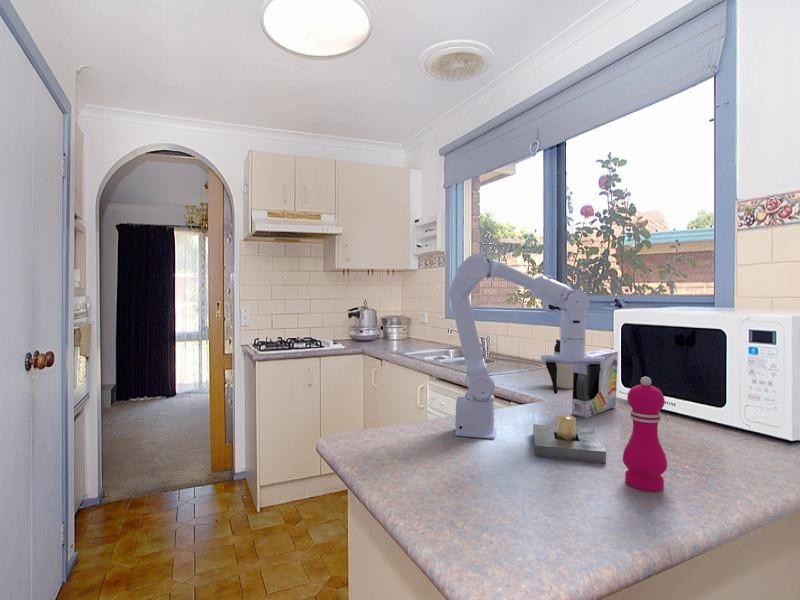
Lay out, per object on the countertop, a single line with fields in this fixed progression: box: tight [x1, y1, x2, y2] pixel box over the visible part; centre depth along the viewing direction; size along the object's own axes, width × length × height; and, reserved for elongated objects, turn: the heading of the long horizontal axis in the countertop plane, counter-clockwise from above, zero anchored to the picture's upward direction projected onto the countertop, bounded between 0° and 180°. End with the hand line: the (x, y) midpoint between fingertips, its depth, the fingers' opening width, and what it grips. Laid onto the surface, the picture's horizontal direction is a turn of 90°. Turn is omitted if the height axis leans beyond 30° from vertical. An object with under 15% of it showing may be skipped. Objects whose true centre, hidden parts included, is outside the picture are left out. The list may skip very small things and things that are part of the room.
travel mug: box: [553, 337, 573, 390], centre depth 168 cm, size 8×8×18 cm
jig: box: [532, 423, 607, 465], centre depth 103 cm, size 14×16×2 cm
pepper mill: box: [622, 376, 668, 492], centre depth 84 cm, size 7×7×20 cm
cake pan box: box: [571, 348, 619, 419], centre depth 134 cm, size 19×5×18 cm, turn 129°
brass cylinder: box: [556, 414, 577, 441], centre depth 103 cm, size 4×4×7 cm
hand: (571, 393), depth 111 cm, fingers open, 7 cm apart
